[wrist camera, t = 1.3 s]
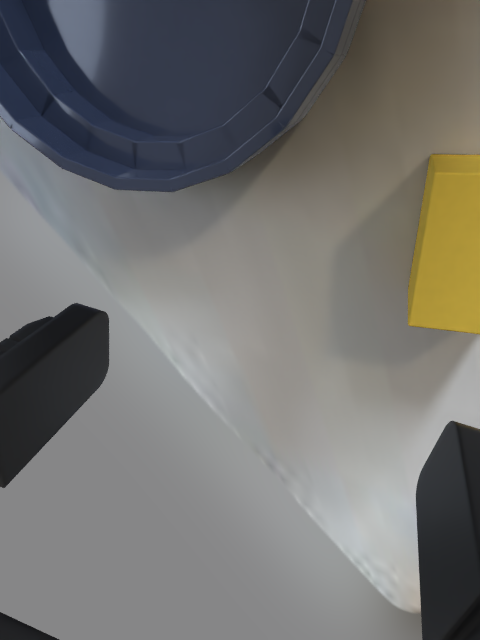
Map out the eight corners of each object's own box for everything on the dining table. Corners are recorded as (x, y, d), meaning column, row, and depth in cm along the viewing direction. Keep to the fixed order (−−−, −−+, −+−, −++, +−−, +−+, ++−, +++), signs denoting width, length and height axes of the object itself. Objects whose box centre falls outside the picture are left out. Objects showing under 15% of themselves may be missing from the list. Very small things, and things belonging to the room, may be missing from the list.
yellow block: (430, 153, 21) (434, 172, 17) (544, 155, 19) (571, 175, 16) (407, 289, 24) (407, 326, 21) (502, 299, 23) (518, 339, 19)
